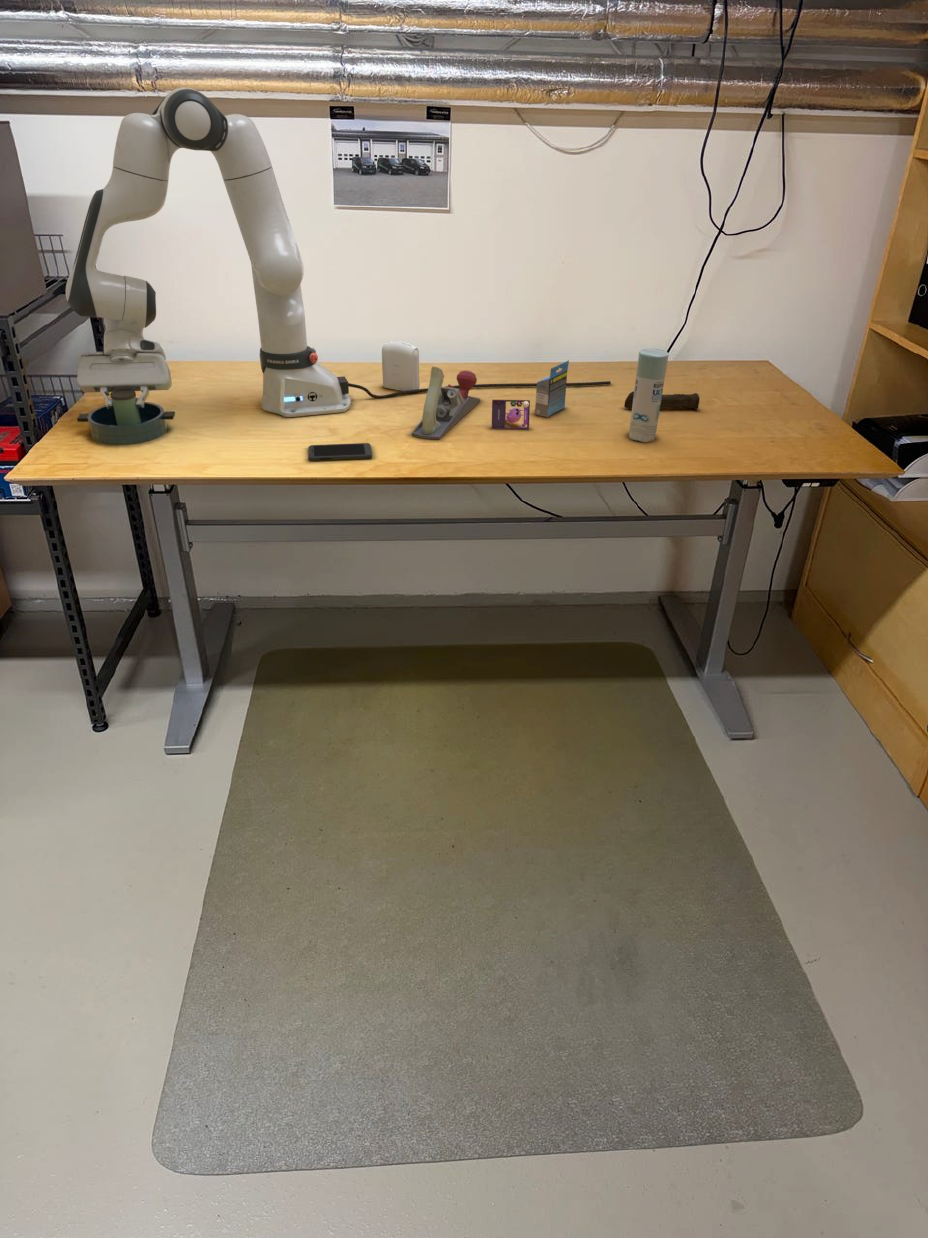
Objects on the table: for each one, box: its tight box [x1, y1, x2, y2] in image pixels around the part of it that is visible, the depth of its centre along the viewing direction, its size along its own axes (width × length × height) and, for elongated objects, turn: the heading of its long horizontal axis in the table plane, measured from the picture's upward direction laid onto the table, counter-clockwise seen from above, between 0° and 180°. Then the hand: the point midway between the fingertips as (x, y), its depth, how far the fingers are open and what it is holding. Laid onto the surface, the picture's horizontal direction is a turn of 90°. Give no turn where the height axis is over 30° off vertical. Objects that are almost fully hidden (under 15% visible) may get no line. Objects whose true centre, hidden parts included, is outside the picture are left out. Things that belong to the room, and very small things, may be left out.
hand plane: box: [411, 366, 481, 440], centre depth 208 cm, size 7×31×15 cm, turn 160°
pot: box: [87, 401, 168, 446], centre depth 198 cm, size 17×17×4 cm
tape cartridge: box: [534, 360, 570, 419], centre depth 214 cm, size 9×4×12 cm, turn 145°
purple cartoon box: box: [491, 399, 531, 430], centre depth 207 cm, size 7×5×9 cm
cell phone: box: [307, 442, 373, 462], centre depth 191 cm, size 7×14×1 cm, turn 99°
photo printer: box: [381, 340, 421, 392], centre depth 226 cm, size 10×4×12 cm, turn 63°
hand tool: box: [623, 390, 700, 411], centre depth 220 cm, size 19×4×5 cm, turn 92°
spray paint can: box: [628, 348, 669, 443], centre depth 198 cm, size 6×6×20 cm
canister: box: [109, 389, 141, 426], centre depth 196 cm, size 5×5×8 cm
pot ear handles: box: [76, 410, 176, 423], centre depth 197 cm, size 21×3×1 cm, turn 98°
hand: (125, 407), depth 195 cm, fingers closed on canister, 5 cm apart
